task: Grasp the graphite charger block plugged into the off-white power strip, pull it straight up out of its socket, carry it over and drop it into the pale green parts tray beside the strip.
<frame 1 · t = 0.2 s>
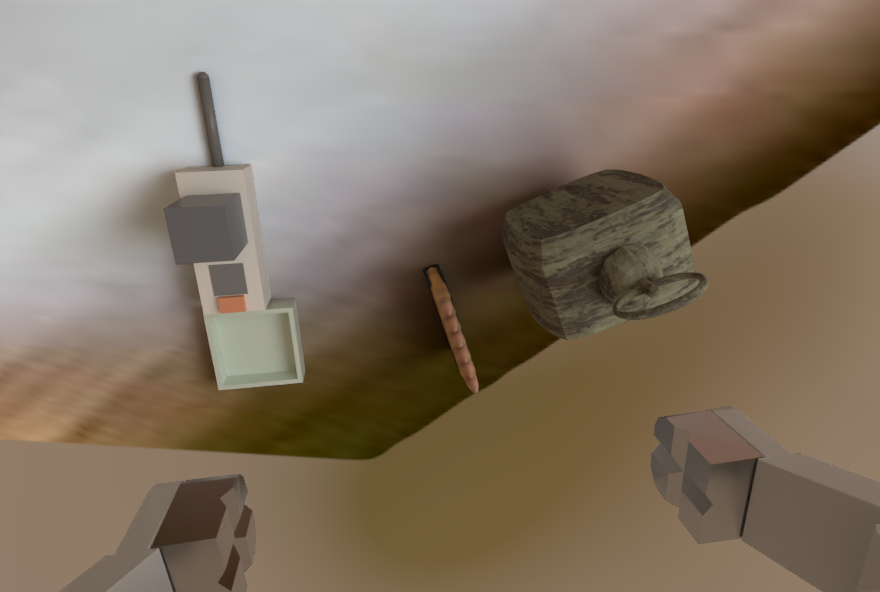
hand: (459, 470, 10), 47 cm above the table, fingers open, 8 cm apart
charger: (217, 219, 50), point 4 cm above the table, touching power strip
parts tray: (259, 338, 59), on the table
ammunition clip: (444, 306, 61), on the table
power strip: (231, 234, 54), on the table
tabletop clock: (550, 220, 59), on the table
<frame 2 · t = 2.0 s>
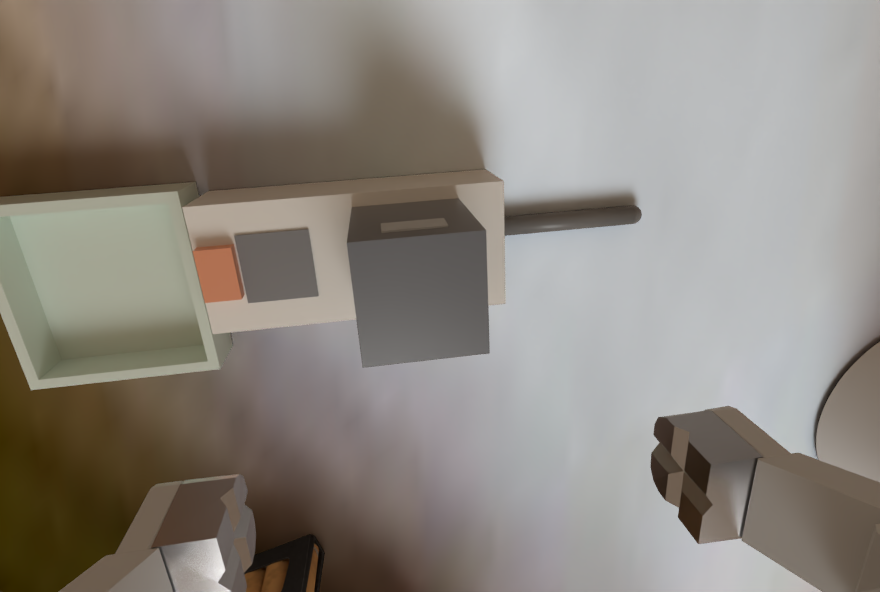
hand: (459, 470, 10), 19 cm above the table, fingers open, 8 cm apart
charger: (409, 253, 24), point 4 cm above the table, touching power strip
parts tray: (125, 276, 27), on the table
ammunition clip: (245, 568, 35), on the table
power strip: (357, 237, 28), on the table
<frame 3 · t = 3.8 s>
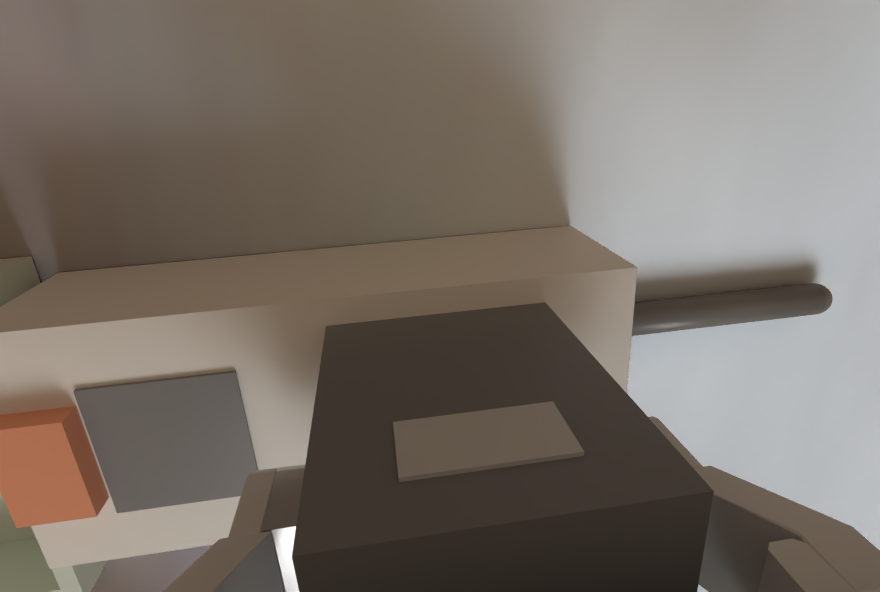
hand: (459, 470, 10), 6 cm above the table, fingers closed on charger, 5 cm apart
charger: (444, 408, 12), point 4 cm above the table, touching gripper, power strip
power strip: (341, 344, 16), on the table
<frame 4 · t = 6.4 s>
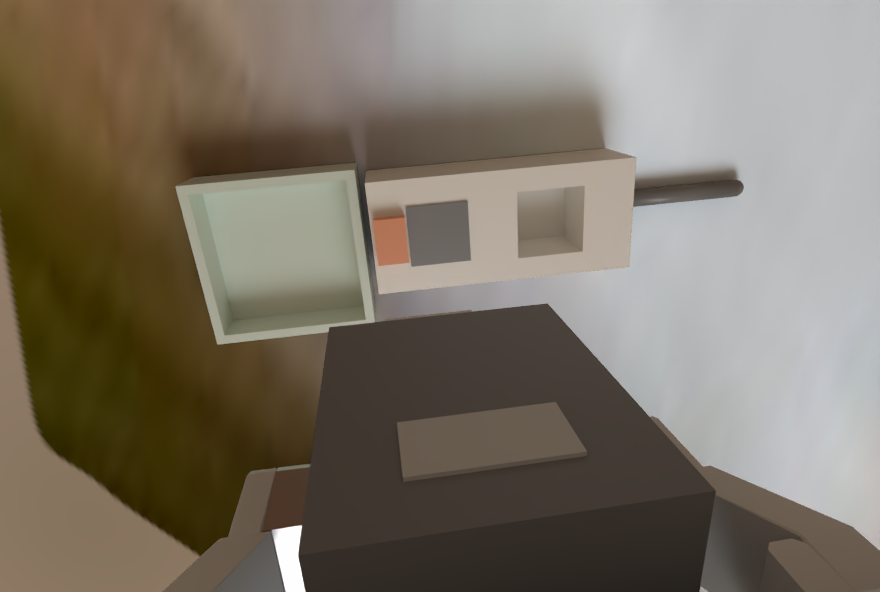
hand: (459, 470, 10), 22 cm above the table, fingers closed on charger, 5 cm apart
charger: (446, 409, 12), point 20 cm above the table, touching gripper
parts tray: (290, 247, 31), on the table
power strip: (490, 210, 31), on the table
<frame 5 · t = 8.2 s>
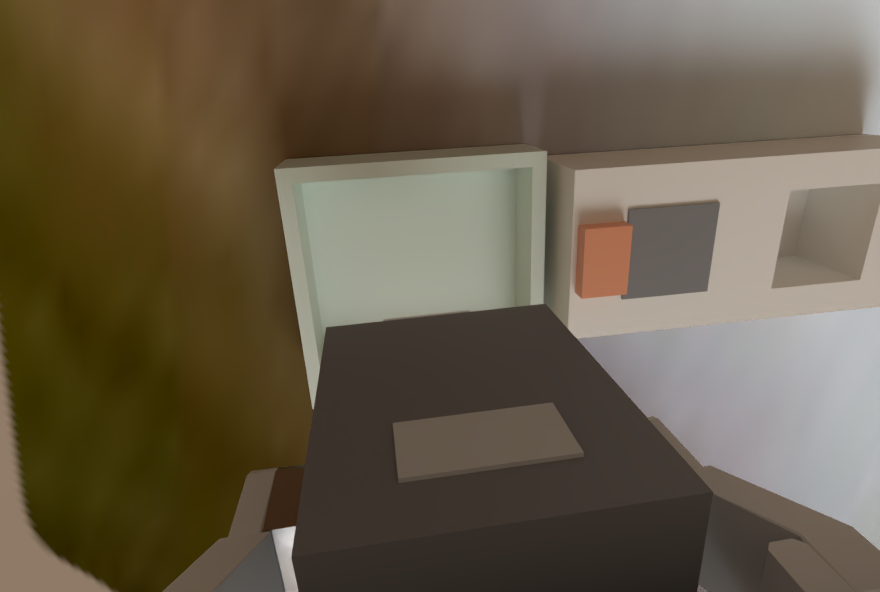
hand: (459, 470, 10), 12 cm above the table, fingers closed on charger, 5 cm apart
charger: (444, 409, 12), point 10 cm above the table, touching gripper
parts tray: (415, 265, 21), on the table
power strip: (696, 218, 22), on the table
when the fingers open (7 cm above the table, at t = 9.4 s): charger drops 1 cm, resting on parts tray.
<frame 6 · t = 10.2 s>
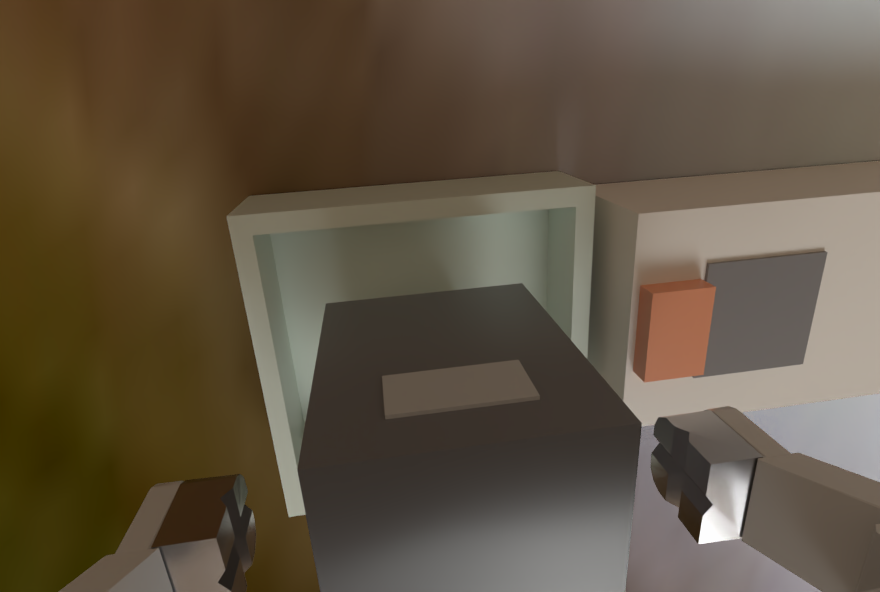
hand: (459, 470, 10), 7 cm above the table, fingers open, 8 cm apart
charger: (432, 379, 14), point 4 cm above the table, touching parts tray
parts tray: (419, 324, 17), on the table
power strip: (769, 258, 18), on the table
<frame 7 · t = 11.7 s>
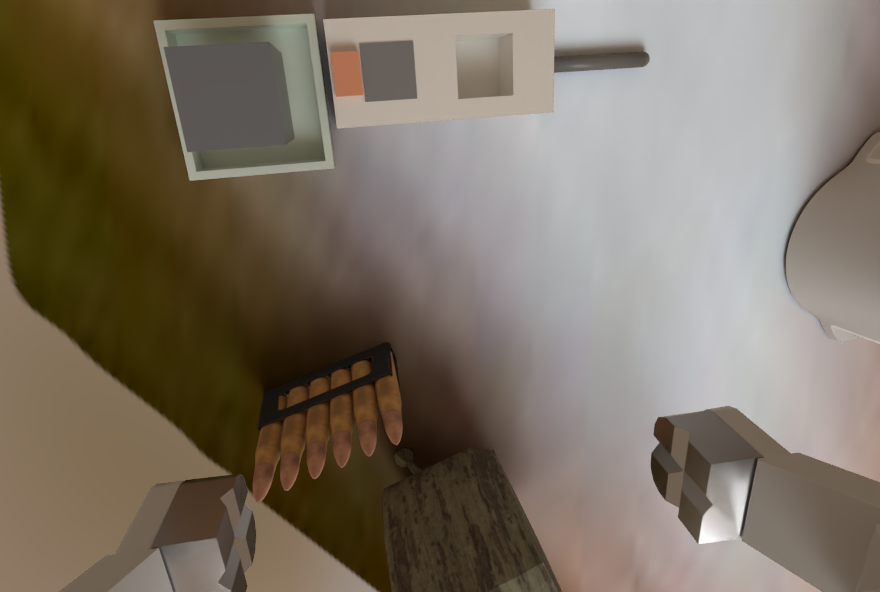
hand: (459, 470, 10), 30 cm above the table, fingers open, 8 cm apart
charger: (247, 99, 31), point 3 cm above the table, touching parts tray
parts tray: (256, 99, 35), on the table
ammunition clip: (331, 375, 43), on the table
power strip: (434, 72, 36), on the table
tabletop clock: (454, 478, 48), on the table
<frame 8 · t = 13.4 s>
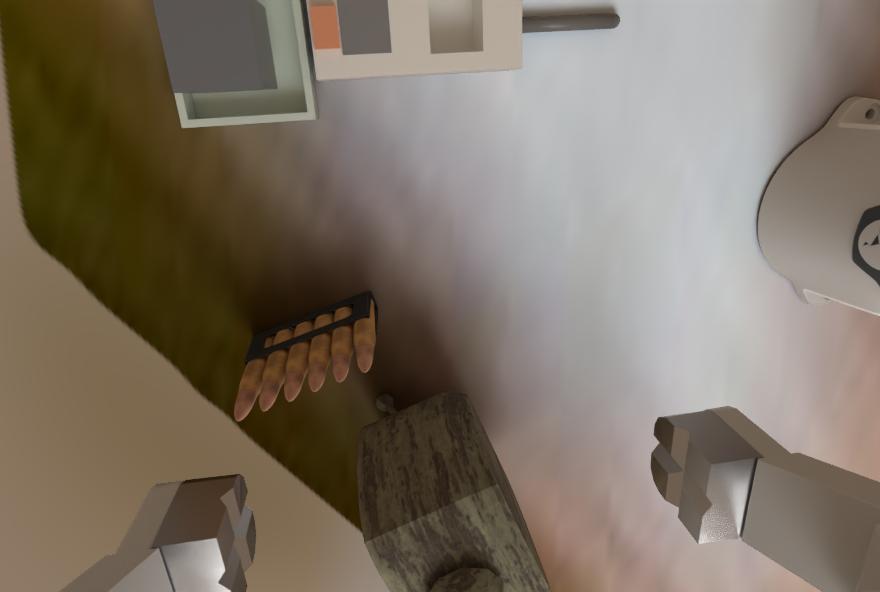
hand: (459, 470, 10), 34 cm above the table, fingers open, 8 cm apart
charger: (233, 51, 34), point 3 cm above the table, touching parts tray
parts tray: (245, 54, 37), on the table
ammunition clip: (316, 321, 45), on the table
power strip: (412, 31, 38), on the table
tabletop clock: (433, 426, 51), on the table
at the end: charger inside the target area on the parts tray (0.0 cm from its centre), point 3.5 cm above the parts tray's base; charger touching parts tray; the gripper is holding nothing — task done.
